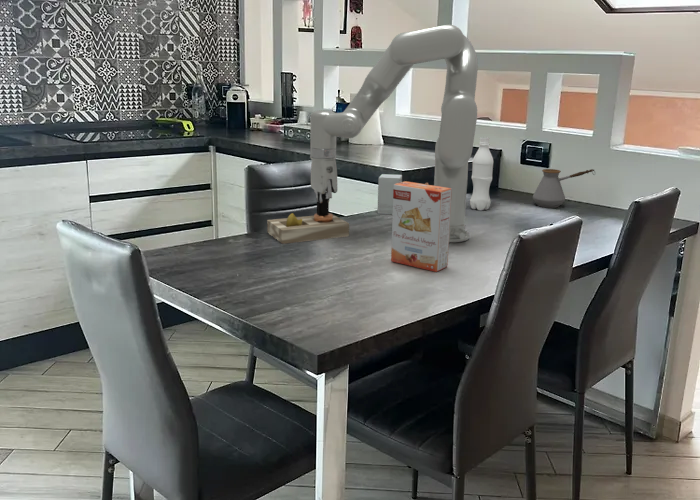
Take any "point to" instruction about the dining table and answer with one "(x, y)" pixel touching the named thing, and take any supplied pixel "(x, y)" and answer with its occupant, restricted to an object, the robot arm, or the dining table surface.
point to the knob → (293, 221)
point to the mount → (307, 229)
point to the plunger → (323, 218)
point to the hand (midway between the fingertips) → (322, 214)
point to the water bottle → (482, 176)
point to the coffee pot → (552, 188)
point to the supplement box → (386, 192)
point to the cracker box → (421, 225)
